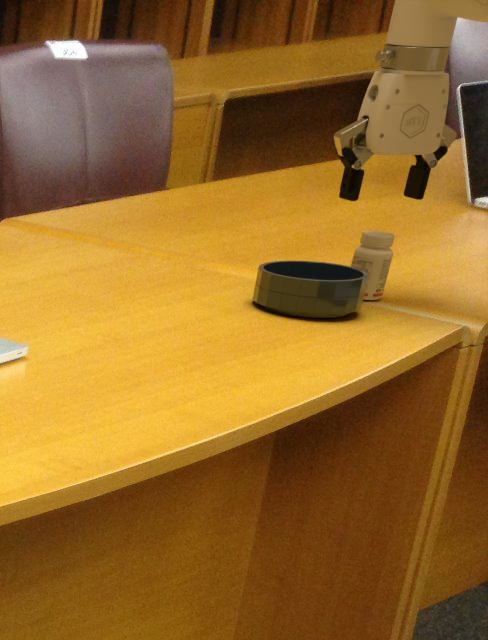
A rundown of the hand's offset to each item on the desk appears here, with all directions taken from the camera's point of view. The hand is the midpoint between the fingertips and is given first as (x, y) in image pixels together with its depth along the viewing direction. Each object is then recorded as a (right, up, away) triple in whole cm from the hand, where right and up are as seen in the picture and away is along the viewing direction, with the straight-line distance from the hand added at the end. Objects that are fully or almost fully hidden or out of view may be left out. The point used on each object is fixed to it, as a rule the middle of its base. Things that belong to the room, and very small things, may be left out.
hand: (380, 198), depth 203 cm
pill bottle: (0, -12, +6) cm, 13 cm away
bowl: (-10, -15, -1) cm, 18 cm away
